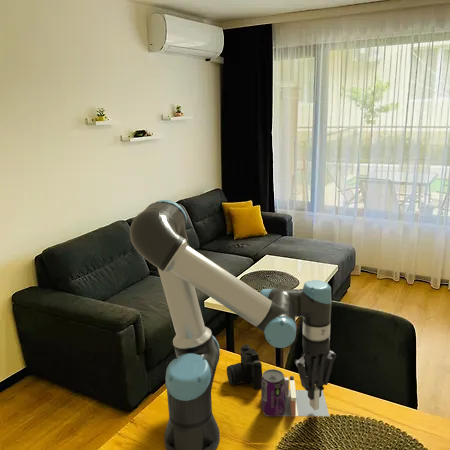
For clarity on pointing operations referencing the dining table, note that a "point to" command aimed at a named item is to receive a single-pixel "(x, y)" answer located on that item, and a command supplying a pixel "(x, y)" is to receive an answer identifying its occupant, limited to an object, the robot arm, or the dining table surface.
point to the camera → (246, 369)
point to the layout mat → (305, 405)
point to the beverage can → (273, 392)
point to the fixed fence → (287, 384)
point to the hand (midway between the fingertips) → (314, 406)
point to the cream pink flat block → (293, 397)
